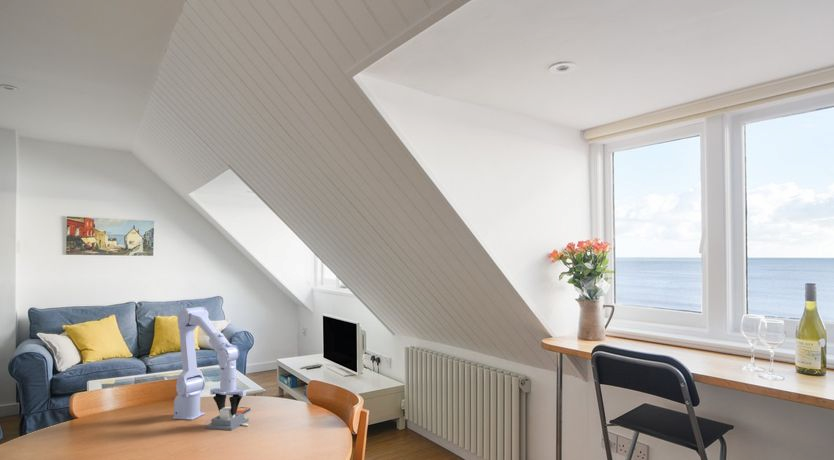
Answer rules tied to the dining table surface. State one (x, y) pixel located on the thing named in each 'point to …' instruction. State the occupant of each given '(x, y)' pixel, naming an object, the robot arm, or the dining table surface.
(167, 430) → the dining table surface
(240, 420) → the block
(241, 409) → the smartphone
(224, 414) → the white block
